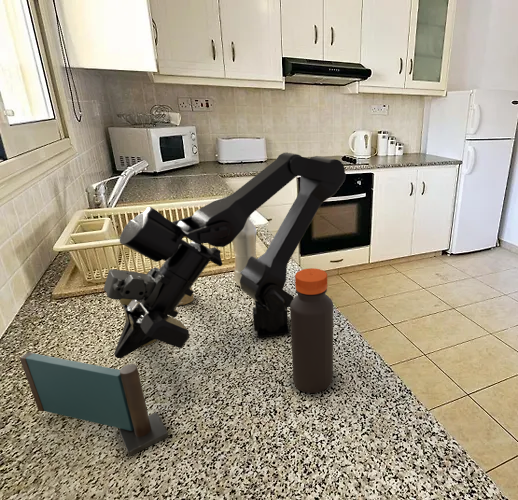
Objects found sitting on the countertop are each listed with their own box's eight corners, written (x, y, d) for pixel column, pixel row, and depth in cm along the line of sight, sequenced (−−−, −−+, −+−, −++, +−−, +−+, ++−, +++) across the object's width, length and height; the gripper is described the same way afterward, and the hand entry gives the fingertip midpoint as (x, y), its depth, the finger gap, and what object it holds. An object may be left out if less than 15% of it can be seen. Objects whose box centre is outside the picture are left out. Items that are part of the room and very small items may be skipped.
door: (47, 403, 56) (29, 351, 53) (138, 424, 53) (125, 370, 50) (38, 410, 55) (19, 357, 52) (131, 431, 52) (117, 376, 49)
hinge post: (157, 415, 56) (143, 352, 52) (168, 436, 53) (154, 370, 48) (119, 433, 53) (102, 367, 49) (128, 457, 49) (110, 387, 45)
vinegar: (288, 372, 66) (283, 269, 58) (325, 363, 68) (324, 263, 61) (299, 399, 60) (295, 287, 53) (338, 387, 62) (340, 280, 55)
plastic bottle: (238, 292, 93) (230, 215, 86) (232, 281, 98) (225, 208, 91) (263, 287, 96) (258, 212, 88) (256, 277, 101) (251, 205, 94)
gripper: (118, 234, 62) (55, 314, 60) (152, 270, 50) (73, 373, 47) (174, 265, 70) (121, 336, 67) (216, 302, 57) (152, 393, 55)
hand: (117, 356), depth 59 cm, fingers closed
